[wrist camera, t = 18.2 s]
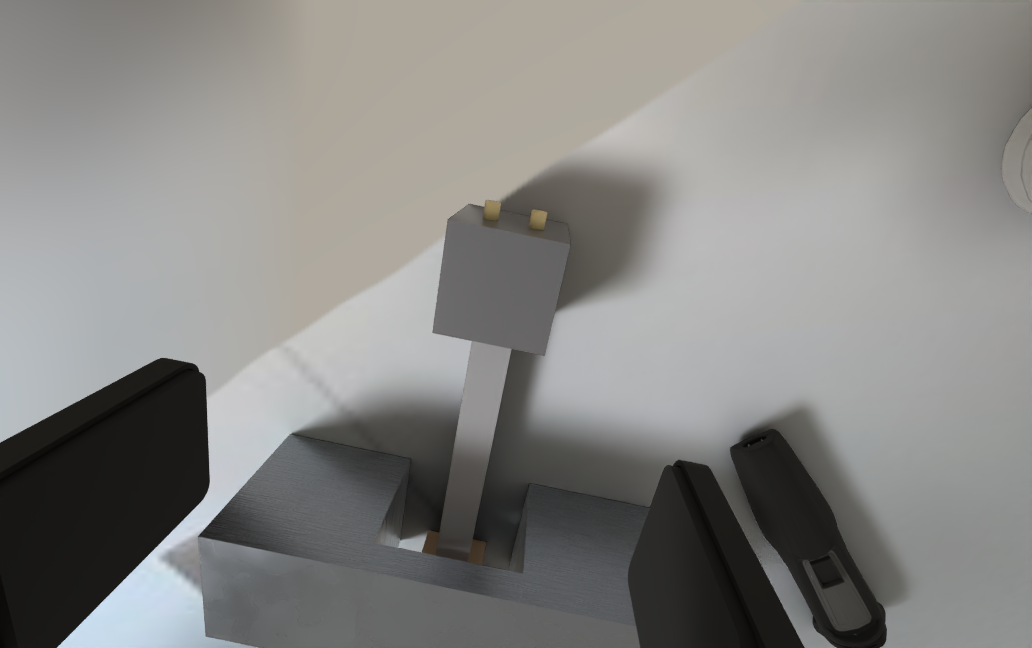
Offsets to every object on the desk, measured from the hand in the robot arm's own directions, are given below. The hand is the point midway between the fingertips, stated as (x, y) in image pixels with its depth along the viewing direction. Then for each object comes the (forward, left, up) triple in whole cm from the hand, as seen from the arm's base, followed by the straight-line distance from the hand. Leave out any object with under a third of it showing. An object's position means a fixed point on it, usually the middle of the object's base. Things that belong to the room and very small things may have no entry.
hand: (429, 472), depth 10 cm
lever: (-1, -7, -13) cm, 15 cm away
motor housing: (-2, -13, -13) cm, 19 cm away
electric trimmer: (+16, -13, -14) cm, 25 cm away
